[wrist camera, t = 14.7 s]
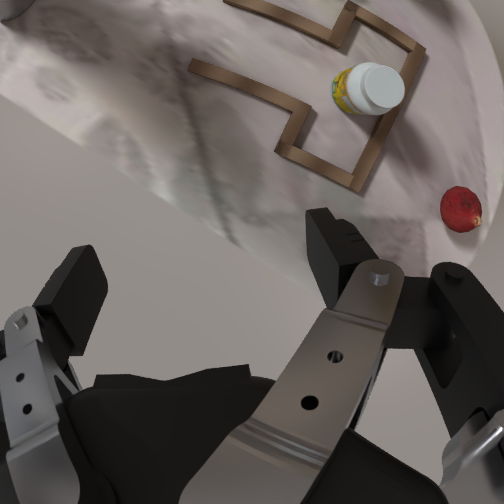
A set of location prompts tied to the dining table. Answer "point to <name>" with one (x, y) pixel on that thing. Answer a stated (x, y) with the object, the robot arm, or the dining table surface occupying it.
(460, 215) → the onion
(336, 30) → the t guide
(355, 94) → the supplement bottle
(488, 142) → the dining table surface
